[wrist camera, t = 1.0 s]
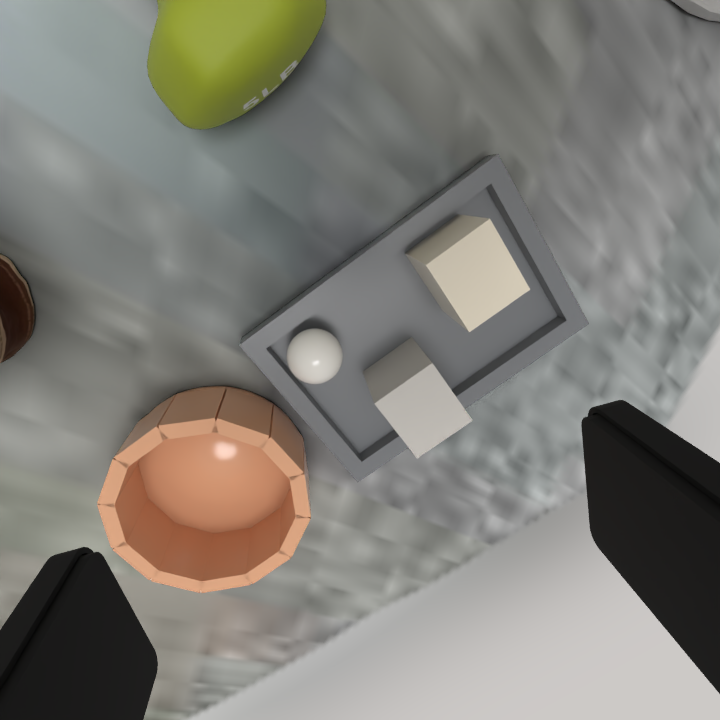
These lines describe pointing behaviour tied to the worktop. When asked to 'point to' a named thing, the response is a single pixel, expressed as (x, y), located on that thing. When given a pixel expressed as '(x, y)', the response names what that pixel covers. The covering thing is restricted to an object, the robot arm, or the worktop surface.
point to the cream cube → (468, 270)
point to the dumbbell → (227, 54)
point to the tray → (416, 320)
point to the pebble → (314, 356)
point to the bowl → (208, 490)
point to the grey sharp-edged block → (415, 398)
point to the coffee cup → (14, 310)
